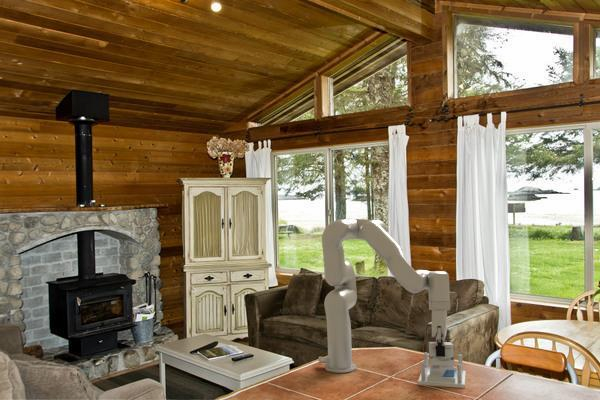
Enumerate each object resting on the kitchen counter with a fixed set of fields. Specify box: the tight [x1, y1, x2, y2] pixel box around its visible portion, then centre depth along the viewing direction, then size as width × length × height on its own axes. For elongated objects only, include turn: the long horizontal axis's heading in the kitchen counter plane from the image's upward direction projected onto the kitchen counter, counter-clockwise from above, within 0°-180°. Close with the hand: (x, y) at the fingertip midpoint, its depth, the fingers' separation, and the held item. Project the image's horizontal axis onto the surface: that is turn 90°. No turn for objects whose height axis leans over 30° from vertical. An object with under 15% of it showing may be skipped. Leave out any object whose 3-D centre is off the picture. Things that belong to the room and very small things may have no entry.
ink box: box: [428, 341, 455, 377], centre depth 195 cm, size 8×5×12 cm, turn 82°
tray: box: [417, 352, 467, 389], centre depth 195 cm, size 16×16×8 cm
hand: (441, 353), depth 195 cm, fingers open, 5 cm apart
